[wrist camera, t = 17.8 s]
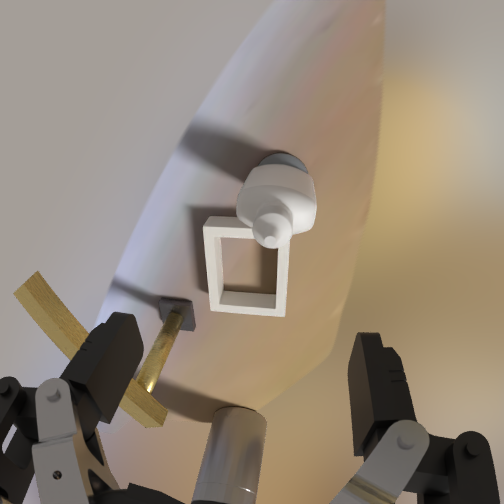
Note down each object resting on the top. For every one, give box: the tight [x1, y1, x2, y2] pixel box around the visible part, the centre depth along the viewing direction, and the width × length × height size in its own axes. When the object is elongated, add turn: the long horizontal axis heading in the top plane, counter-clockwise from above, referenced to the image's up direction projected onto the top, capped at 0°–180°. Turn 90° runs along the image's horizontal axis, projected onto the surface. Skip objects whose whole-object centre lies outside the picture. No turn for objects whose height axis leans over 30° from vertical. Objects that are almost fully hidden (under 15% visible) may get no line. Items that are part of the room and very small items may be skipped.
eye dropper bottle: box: [236, 164, 317, 249], centre depth 23 cm, size 4×6×12 cm
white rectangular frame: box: [203, 216, 290, 317], centre depth 32 cm, size 10×8×2 cm
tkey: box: [14, 271, 183, 428], centre depth 29 cm, size 18×2×14 cm, turn 30°
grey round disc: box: [257, 153, 308, 174], centre depth 28 cm, size 5×5×1 cm
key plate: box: [159, 298, 196, 331], centre depth 38 cm, size 4×4×1 cm
